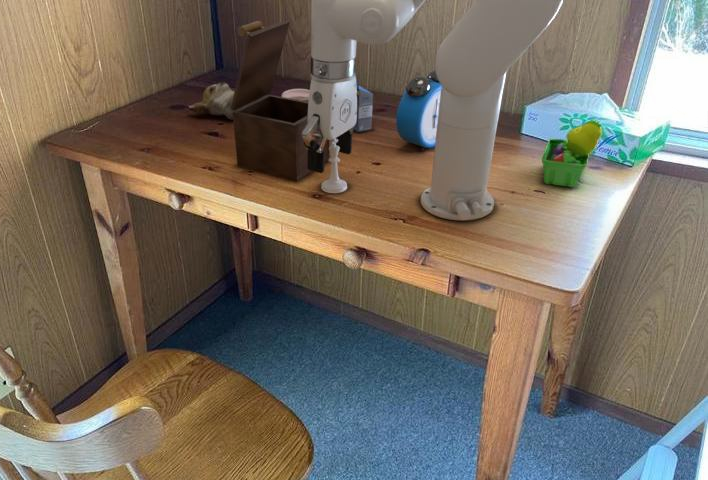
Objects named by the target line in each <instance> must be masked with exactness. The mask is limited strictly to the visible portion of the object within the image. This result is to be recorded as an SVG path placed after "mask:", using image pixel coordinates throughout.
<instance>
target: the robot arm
mask: <svg viewBox="0 0 708 480" xmlns="http://www.w3.org/2000/svg"><path fill="white" fill-rule="evenodd" d="M425 1H426V0H311V9H310V11H311V12H310V16H311V17H310V18H311V19H310V20H311V21H310V24H311V25H310V78H311V79H310V85H309V90H310V92H309V102H308V124H307V126H306V127H305V129H304V130H303V131H302V138H303V140H304V145H305V146H306V150H308V169H309V170H311V171H312V172H315V173H319V174H323V173H324V172H325V163H324V155H325V152H324V151H322V150H323V147H324V145H325V142H326V139H328V140H330V141H333V139H335V138H336V139H338V142H336V145H337V146H339V147H340V150H339V152H338V153H341V154H345V155H350V154H352V147H353V133H354V131H355V130H354V127H353V126H354V125H355V124H356V120H357V108H358V104H357V84H356V77H357V76H356V61H357V60H356V59H357V58H356V56H357V45H358V44H357V42H358V43H362V44H367V45H371V46H379V45H384V44H386V43H388V42H389V41H391V40H392V39H394V37H396V35H398V33H400V31H401V30H402V29H403V28H405V26H406V25H407V24H408V23H409V22H410V20H411V19H412V18H413V17H414V16H415V14H416V13H417V12H418V10H419V9H420V8H421V7H422V5H423V4H424V3H425ZM563 3H564V0H475V1H474V2H473V3H472V5H471V6H470V7H469V8H468V10H467V11H466V12H465V13H464V15H463V16H462V17H461V19H459V20H457V22H456V23H455V24H454V25H453V26H452V28H451V29H450V30H449V31H448V33H446V36H445V38H444V39H443V40H442V41H441V43H440V44H439V47H438V49H437V52H436V55H435V61H434V70H435V71H436V75H437V78H438V81H439V82H440V84H441V85H442V89H441V96H440V104H439V114H438V122H437V132H436V142H435V146H434V153H433V163H432V172H431V183H430V186H429V187H427V188H426V189H424V190H423V191H422V193H421V196H420V204H421V206H422V208H423V209H424V210H425V212H428V213H429V214H431V215H433V216H435V217H439V218H442V219H445V220H450V221H473V220H478V219H481V218H484V217H486V216H488V215H489V214H490V213H492V212H493V210H494V207H495V206H494V205H495V199H494V197H493V196H492V194H491V193H490V192H489V191H487V190H488V185H489V179H490V172H491V166H492V160H493V154H494V147H495V140H496V136H497V135H496V134H497V129H498V122H499V118H500V111H501V106H502V98H503V92H504V87H505V82H506V77H507V72H508V71H509V70H510V69H511V67H512V66H513V65H514V64H515V63H517V61H518V60H519V59H520V58H521V57H522V56H523V55H524V53H525V52H526V51H528V49H529V48H530V47H531V46H532V44H534V43H535V41H536V40H537V39H538V38H539V37H540V36H541V35H542V33H543V32H544V31H546V29H547V28H548V26H549V25H550V24H551V23H552V21H553V20H554V19H555V18H556V16H557V14H558V13H559V11H560V9H561V8H562V5H563ZM319 132H322V134H320V133H319ZM315 137H316V138H320V141H319V144H317V143H316V141H315Z"/></svg>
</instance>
